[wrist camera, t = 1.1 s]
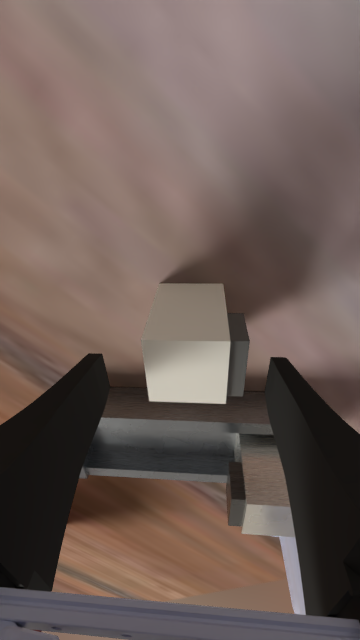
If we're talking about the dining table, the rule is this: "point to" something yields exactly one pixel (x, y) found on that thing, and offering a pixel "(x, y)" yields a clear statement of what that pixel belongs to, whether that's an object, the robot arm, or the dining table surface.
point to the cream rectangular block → (194, 345)
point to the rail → (198, 452)
